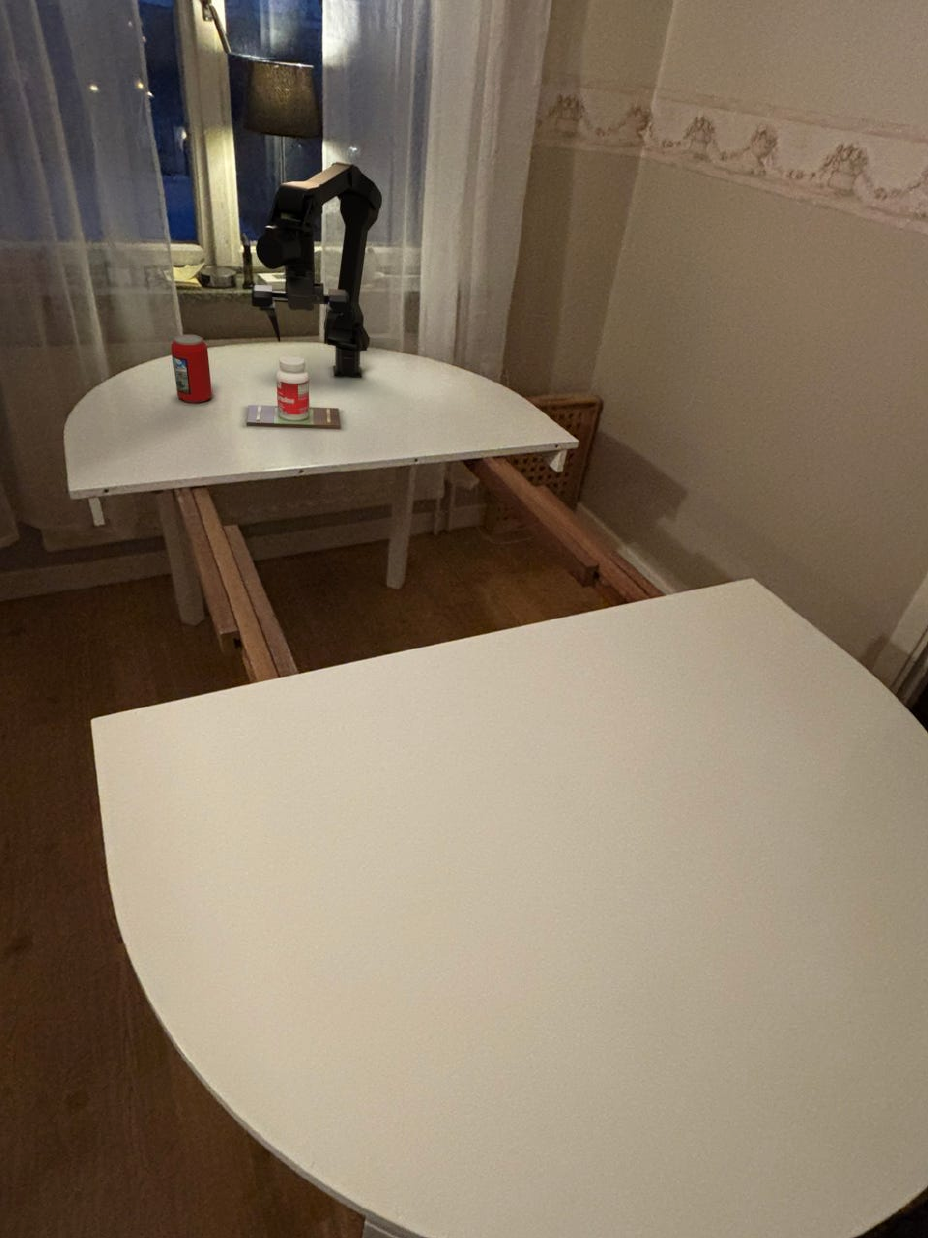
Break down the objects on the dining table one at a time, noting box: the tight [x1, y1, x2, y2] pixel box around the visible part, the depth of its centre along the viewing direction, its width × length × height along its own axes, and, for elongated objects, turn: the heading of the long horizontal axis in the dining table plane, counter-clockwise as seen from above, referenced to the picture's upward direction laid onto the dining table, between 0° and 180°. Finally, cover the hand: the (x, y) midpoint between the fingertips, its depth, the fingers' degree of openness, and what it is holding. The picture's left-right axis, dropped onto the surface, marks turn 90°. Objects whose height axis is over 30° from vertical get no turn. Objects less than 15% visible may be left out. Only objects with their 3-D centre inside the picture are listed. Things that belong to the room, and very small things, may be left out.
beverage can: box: [170, 334, 213, 404], centre depth 148 cm, size 7×7×12 cm
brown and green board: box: [245, 404, 341, 430], centre depth 148 cm, size 9×18×1 cm, turn 100°
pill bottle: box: [276, 355, 310, 421], centre depth 144 cm, size 6×6×11 cm
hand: (302, 342), depth 152 cm, fingers open, 9 cm apart
